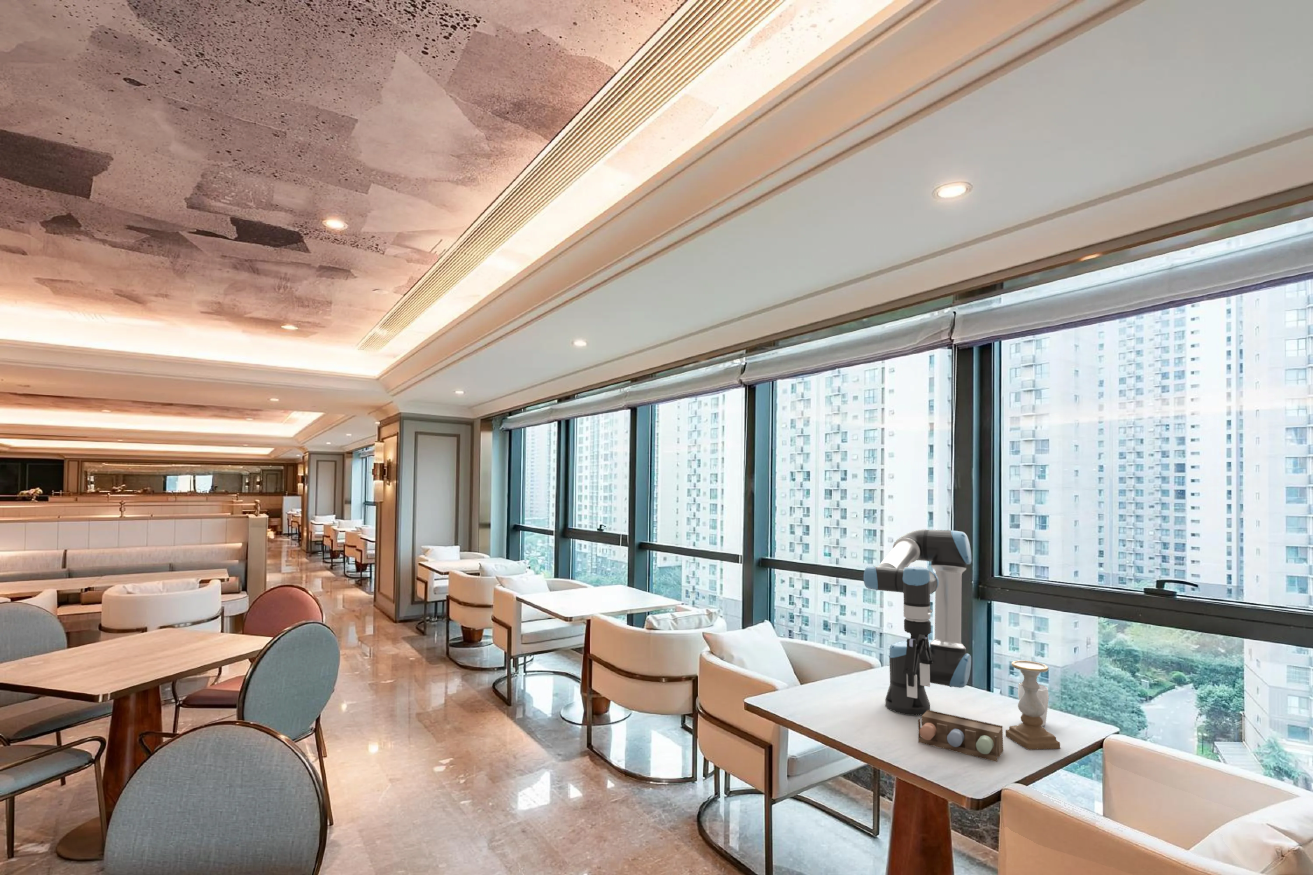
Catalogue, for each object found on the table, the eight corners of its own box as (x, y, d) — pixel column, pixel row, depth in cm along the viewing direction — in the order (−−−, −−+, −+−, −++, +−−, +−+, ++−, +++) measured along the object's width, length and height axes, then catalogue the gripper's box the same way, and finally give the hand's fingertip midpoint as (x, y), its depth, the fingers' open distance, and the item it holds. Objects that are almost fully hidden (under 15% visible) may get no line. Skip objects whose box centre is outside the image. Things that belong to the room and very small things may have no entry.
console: (918, 742, 198) (917, 718, 199) (927, 732, 206) (926, 709, 207) (996, 761, 185) (995, 736, 185) (1003, 750, 193) (1002, 725, 193)
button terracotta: (919, 738, 196) (919, 724, 196) (923, 734, 199) (923, 721, 200) (933, 741, 194) (932, 728, 194) (936, 737, 197) (936, 724, 197)
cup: (1054, 728, 210) (1052, 691, 211) (1024, 726, 212) (1023, 689, 213) (1043, 718, 219) (1042, 683, 220) (1015, 716, 221) (1013, 681, 221)
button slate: (947, 744, 191) (946, 731, 192) (950, 740, 194) (950, 727, 195) (961, 748, 189) (961, 734, 189) (964, 744, 192) (964, 730, 192)
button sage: (976, 751, 186) (975, 737, 187) (979, 747, 189) (978, 733, 190) (991, 755, 184) (990, 741, 184) (993, 751, 187) (993, 737, 187)
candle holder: (1004, 735, 204) (1002, 660, 206) (1037, 734, 205) (1034, 659, 207) (1027, 749, 193) (1024, 670, 195) (1061, 748, 194) (1058, 669, 196)
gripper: (918, 628, 179) (920, 705, 177) (941, 614, 198) (942, 683, 197) (891, 624, 183) (892, 699, 182) (916, 611, 203) (917, 678, 201)
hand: (918, 691), depth 189 cm, fingers open, 13 cm apart
